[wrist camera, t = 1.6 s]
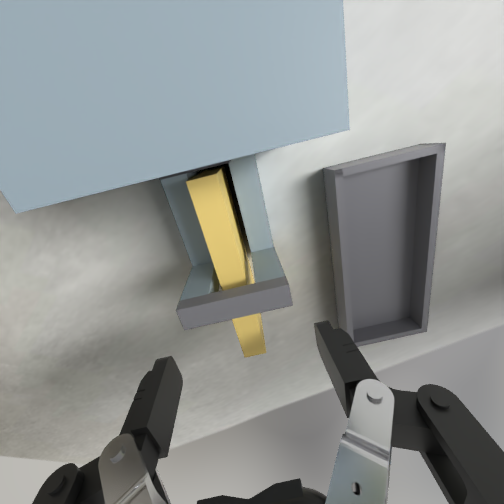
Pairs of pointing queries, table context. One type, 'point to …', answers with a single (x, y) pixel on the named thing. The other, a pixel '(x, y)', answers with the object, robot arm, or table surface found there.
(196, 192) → the ticket
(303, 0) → the dispenser
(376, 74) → the table surface
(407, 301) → the tray
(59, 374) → the table surface
